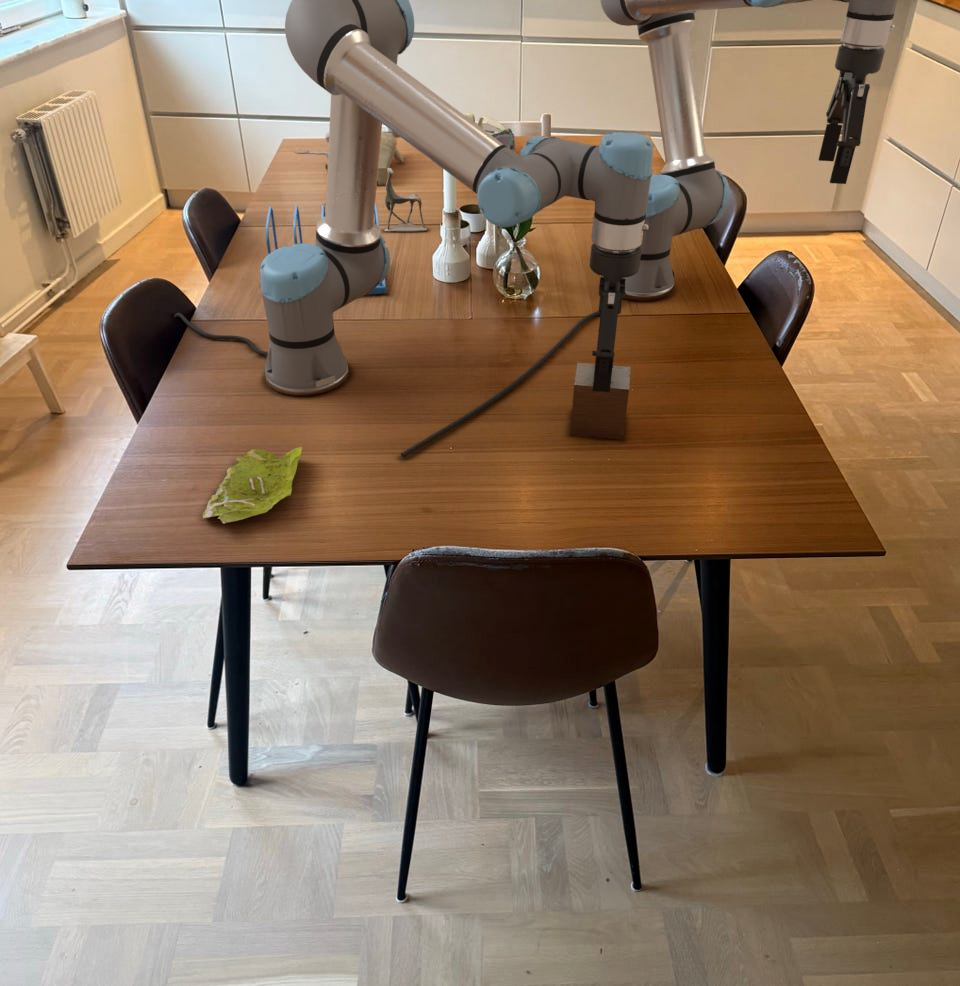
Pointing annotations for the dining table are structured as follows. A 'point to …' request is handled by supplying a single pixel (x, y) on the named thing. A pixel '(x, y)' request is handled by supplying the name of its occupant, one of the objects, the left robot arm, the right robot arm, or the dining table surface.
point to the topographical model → (253, 485)
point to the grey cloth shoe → (504, 136)
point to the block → (600, 404)
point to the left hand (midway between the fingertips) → (603, 369)
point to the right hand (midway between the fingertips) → (831, 171)
